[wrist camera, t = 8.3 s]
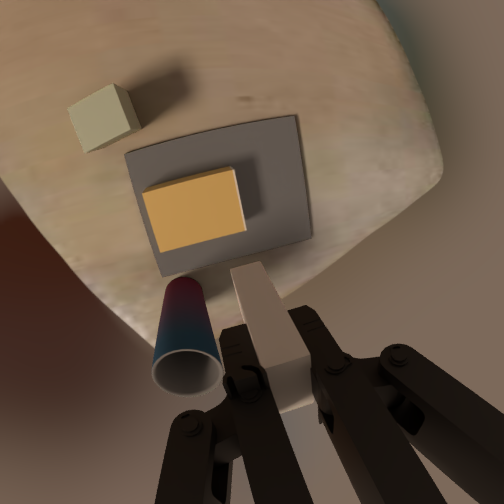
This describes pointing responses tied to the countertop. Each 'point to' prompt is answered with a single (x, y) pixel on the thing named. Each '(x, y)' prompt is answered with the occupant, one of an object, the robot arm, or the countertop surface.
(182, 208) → the ochre slab
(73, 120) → the sage block
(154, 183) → the mat
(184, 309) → the cup
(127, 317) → the countertop surface
